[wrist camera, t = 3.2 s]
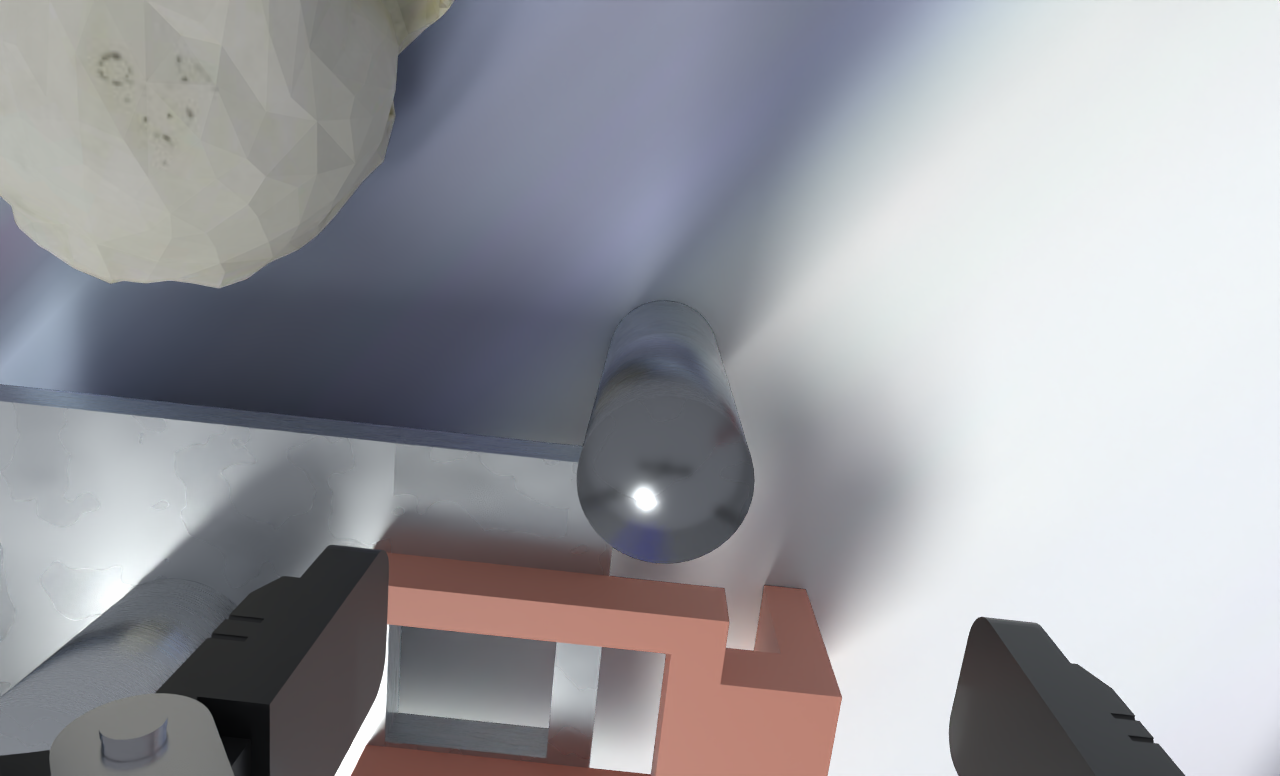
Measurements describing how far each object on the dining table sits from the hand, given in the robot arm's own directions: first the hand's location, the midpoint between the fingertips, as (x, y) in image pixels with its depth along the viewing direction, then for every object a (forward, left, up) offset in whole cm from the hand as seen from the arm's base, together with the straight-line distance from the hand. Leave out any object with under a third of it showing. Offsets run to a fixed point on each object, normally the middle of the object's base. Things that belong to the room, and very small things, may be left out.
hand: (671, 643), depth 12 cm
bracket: (-1, -10, -18) cm, 21 cm away
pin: (0, 0, -18) cm, 18 cm away
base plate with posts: (-11, -10, -18) cm, 23 cm away
